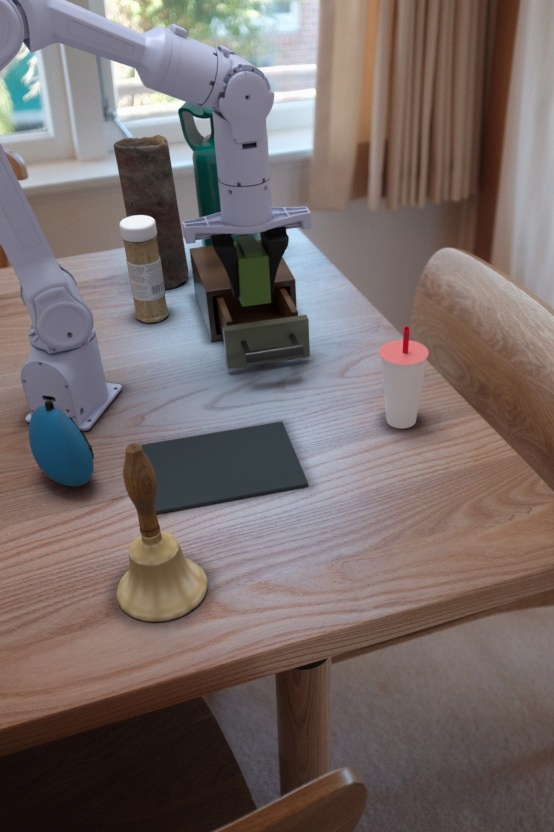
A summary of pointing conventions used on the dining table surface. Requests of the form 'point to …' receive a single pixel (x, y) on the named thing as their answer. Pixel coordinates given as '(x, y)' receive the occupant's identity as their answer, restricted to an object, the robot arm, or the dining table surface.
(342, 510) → the dining table surface
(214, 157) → the pitcher
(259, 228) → the robot arm
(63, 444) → the ornament
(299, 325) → the drawer
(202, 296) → the cabinet
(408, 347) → the cup
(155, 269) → the sprinkles bottle
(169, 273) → the candle
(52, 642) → the dining table surface
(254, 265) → the green stepped block
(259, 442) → the mat
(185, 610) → the hand bell
